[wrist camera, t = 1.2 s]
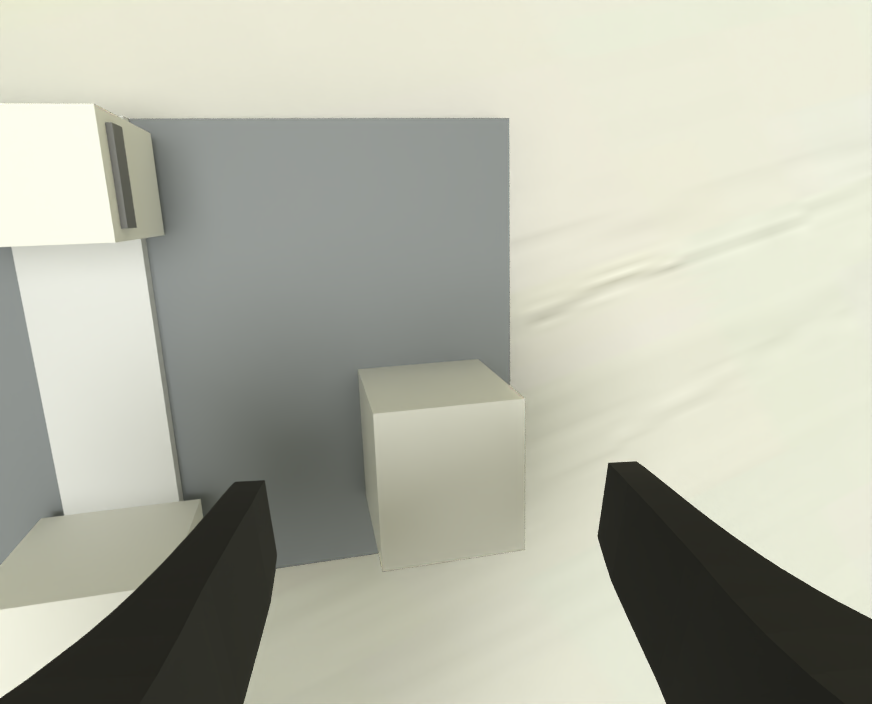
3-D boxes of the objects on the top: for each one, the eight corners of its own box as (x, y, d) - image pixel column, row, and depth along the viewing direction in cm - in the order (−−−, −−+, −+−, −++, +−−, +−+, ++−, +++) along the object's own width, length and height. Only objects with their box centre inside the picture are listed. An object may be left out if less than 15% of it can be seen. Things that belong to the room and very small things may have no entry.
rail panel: (501, 519, 25) (568, 624, 19) (-27, 594, 21) (-172, 759, 15) (498, 123, 22) (580, 84, 15) (-143, 125, 18) (-402, 74, 11)
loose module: (480, 481, 23) (524, 549, 19) (366, 495, 22) (382, 572, 18) (478, 358, 22) (525, 398, 17) (358, 369, 21) (373, 414, 17)
